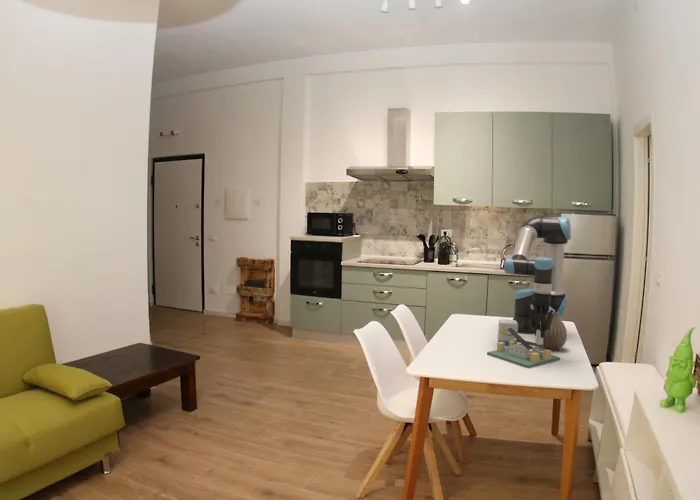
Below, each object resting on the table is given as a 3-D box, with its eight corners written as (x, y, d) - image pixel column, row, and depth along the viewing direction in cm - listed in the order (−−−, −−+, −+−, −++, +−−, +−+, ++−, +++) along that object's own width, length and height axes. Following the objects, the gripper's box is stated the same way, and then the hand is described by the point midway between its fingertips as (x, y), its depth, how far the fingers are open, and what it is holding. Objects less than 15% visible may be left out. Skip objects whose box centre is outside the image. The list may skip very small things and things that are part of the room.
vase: (537, 350, 232) (539, 314, 230) (536, 343, 244) (538, 309, 242) (567, 353, 227) (569, 317, 226) (565, 346, 239) (567, 311, 238)
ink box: (517, 347, 236) (518, 323, 235) (499, 345, 238) (500, 322, 237) (514, 342, 245) (516, 319, 244) (497, 341, 246) (498, 318, 245)
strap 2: (517, 340, 229) (517, 338, 229) (544, 346, 217) (544, 344, 217) (513, 341, 227) (513, 339, 227) (540, 347, 215) (540, 345, 215)
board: (518, 347, 235) (518, 337, 235) (559, 359, 217) (560, 349, 217) (487, 354, 222) (487, 344, 222) (528, 368, 204) (529, 356, 204)
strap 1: (511, 329, 222) (512, 327, 221) (534, 351, 212) (535, 349, 212) (506, 329, 220) (507, 328, 219) (529, 352, 210) (530, 350, 210)
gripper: (524, 290, 219) (521, 341, 220) (550, 295, 208) (547, 348, 209) (534, 289, 223) (531, 339, 225) (560, 294, 212) (557, 346, 214)
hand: (539, 344), depth 217 cm, fingers closed
